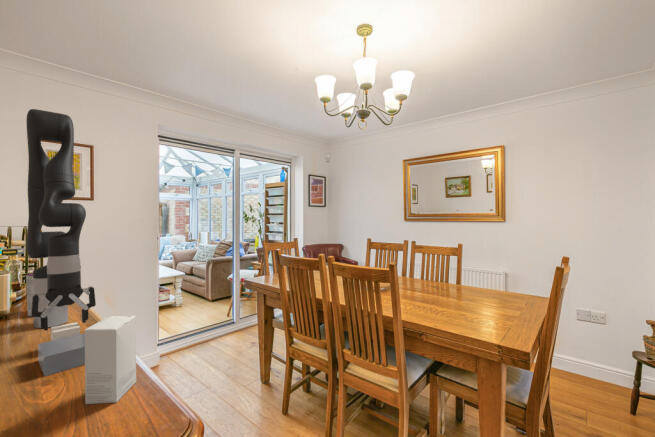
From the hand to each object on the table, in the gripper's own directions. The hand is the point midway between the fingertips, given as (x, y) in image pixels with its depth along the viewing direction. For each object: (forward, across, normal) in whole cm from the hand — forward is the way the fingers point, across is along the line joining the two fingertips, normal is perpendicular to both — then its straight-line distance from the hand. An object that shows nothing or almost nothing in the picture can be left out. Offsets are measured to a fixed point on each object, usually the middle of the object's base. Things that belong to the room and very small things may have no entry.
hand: (65, 326), depth 91 cm
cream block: (+6, 0, 0) cm, 7 cm away
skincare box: (+7, -4, +38) cm, 39 cm away
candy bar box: (+6, +1, -50) cm, 51 cm away
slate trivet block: (+7, 0, +12) cm, 13 cm away
